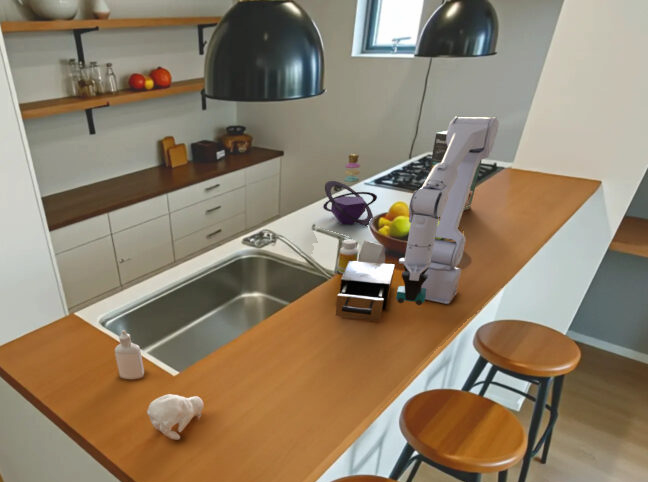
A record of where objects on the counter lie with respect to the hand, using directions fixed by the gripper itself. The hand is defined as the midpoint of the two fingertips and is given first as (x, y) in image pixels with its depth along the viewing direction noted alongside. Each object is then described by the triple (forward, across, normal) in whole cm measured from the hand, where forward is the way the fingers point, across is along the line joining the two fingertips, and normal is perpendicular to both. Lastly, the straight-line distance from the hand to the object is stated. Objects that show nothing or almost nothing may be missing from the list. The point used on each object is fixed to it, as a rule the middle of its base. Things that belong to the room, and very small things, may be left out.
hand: (410, 295), depth 118 cm
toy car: (+1, 0, 0) cm, 1 cm away
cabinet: (+7, -11, -12) cm, 18 cm away
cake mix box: (+8, -95, +8) cm, 96 cm away
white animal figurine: (+7, +55, -38) cm, 67 cm away
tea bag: (+7, -27, -13) cm, 31 cm away
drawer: (+6, 0, -12) cm, 13 cm away
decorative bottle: (+8, -76, -28) cm, 81 cm away
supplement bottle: (+7, -28, -20) cm, 35 cm away
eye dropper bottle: (+7, +43, -56) cm, 71 cm away
